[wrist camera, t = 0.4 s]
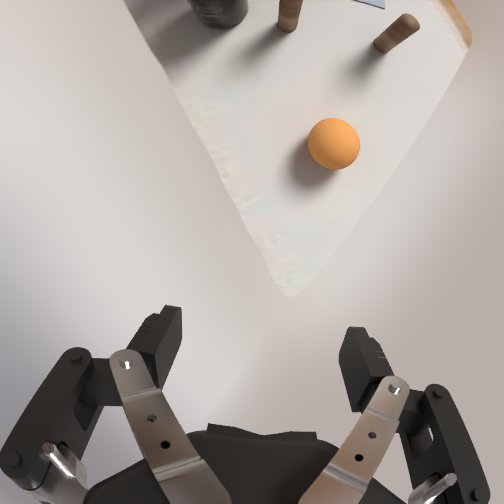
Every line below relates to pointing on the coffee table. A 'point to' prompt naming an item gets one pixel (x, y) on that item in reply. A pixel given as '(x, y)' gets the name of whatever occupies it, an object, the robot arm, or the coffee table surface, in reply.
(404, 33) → the post
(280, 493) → the robot arm
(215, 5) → the supplement bottle
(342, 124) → the ball
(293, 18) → the post
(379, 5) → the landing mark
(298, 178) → the coffee table surface
